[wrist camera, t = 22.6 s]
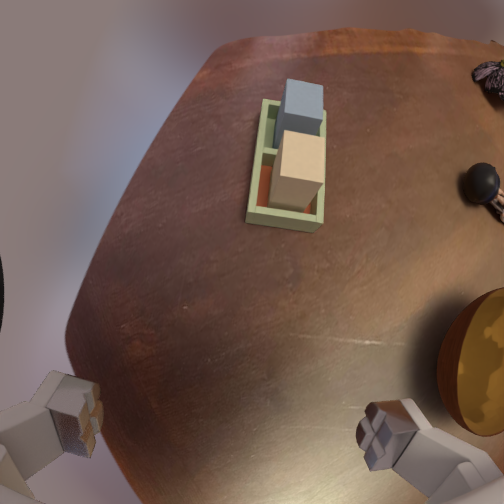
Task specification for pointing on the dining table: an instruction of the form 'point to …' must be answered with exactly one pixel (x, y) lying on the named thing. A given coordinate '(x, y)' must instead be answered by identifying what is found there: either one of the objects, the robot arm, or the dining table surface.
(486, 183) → the figurine
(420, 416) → the robot arm
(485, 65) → the decorative flower
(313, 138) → the beige rectangular block
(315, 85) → the pale blue upright prism
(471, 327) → the bowl
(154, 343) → the dining table surface
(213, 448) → the dining table surface
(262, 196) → the holder
